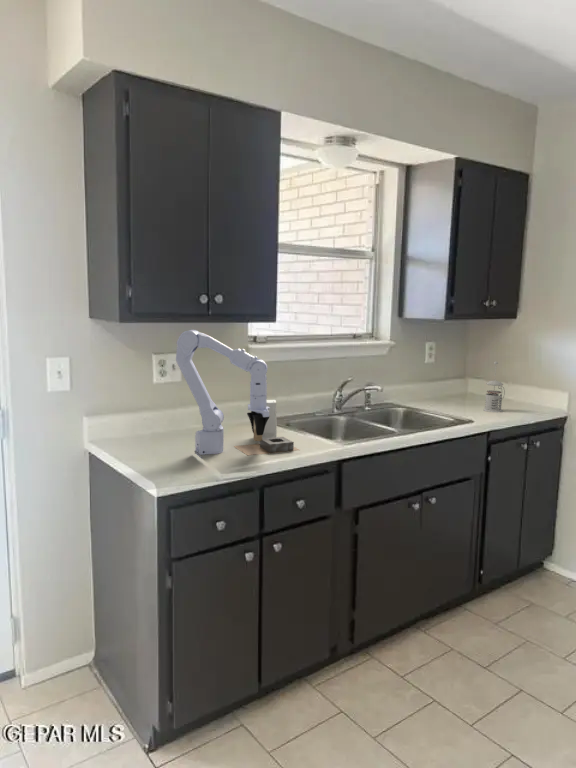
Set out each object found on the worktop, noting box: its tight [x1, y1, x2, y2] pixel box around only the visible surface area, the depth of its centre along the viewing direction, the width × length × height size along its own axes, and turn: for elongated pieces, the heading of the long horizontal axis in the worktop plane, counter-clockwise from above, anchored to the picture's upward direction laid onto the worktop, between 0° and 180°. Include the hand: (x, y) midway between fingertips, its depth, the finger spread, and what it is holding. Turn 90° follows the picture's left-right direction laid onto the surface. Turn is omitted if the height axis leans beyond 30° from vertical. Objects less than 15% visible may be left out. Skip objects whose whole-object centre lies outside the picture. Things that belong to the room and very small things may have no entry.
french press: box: [482, 361, 506, 413], centre depth 298 cm, size 10×12×25 cm
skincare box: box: [262, 399, 278, 439], centre depth 226 cm, size 8×7×16 cm
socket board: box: [233, 436, 300, 456], centre depth 211 cm, size 20×14×4 cm
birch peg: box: [253, 421, 262, 442], centre depth 204 cm, size 3×3×8 cm
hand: (257, 433), depth 204 cm, fingers closed on birch peg, 3 cm apart
